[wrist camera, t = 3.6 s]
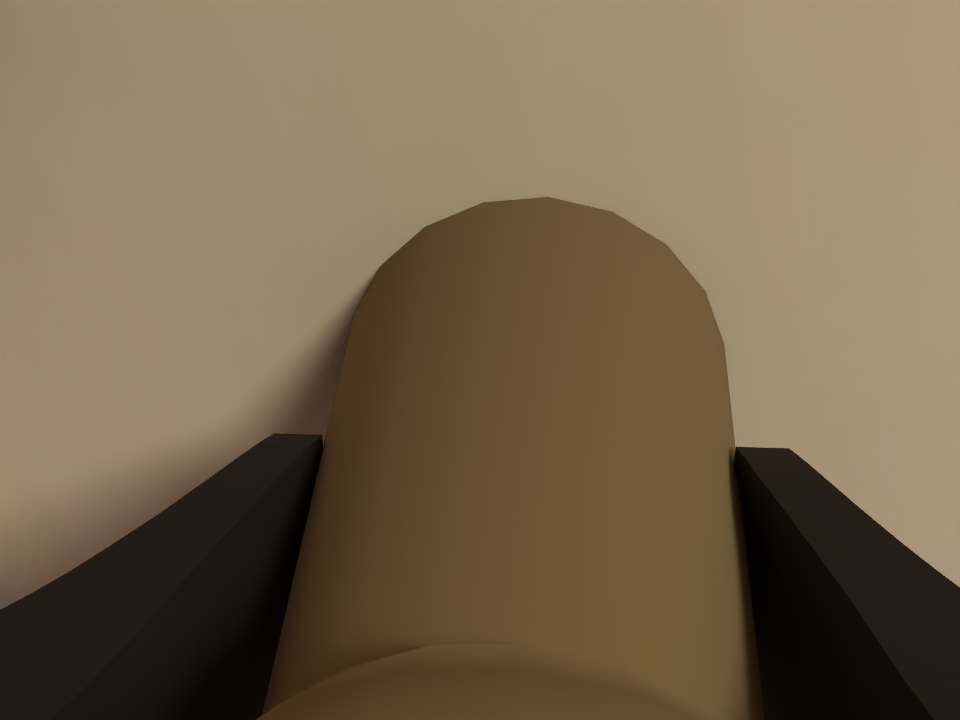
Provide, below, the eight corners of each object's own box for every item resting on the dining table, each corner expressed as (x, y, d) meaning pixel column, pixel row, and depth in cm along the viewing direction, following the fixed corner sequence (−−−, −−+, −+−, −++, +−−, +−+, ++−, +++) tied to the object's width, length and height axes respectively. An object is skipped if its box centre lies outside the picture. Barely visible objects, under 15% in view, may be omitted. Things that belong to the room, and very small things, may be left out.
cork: (692, 551, 14) (979, 1823, 5) (348, 519, 15) (-71, 1641, 5) (760, 212, 12) (1783, 1493, 2) (341, 181, 12) (-597, 1148, 2)
